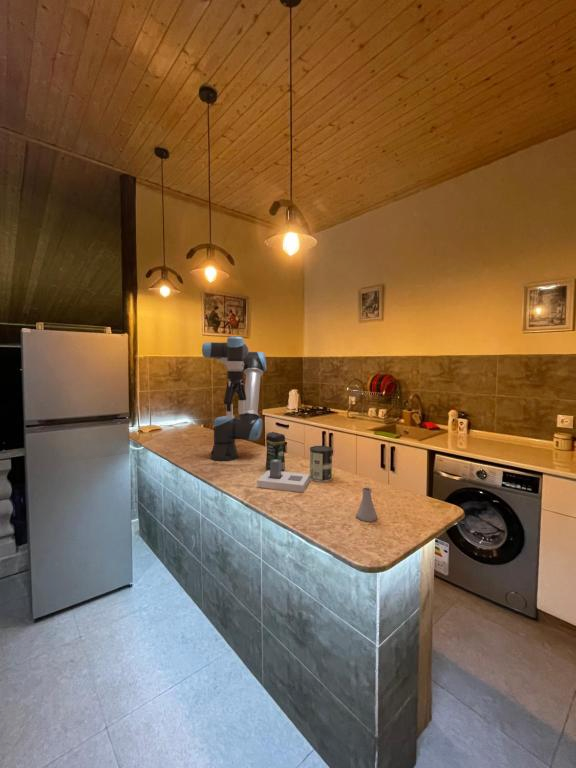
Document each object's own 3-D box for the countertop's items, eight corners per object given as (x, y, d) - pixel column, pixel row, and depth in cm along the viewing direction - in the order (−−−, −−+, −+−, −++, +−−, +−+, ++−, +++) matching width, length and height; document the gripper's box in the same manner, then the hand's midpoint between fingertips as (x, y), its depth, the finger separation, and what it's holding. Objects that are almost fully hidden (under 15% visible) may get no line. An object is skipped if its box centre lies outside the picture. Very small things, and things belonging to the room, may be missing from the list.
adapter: (272, 481, 147) (272, 458, 147) (281, 482, 146) (281, 459, 146) (269, 484, 144) (270, 461, 143) (278, 485, 142) (278, 462, 142)
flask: (361, 510, 118) (362, 483, 117) (380, 516, 113) (381, 488, 113) (351, 518, 112) (352, 489, 112) (371, 524, 108) (372, 494, 107)
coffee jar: (263, 468, 165) (263, 432, 164) (275, 465, 170) (275, 430, 169) (275, 473, 158) (275, 435, 157) (287, 470, 163) (287, 433, 162)
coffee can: (330, 474, 157) (331, 445, 156) (333, 482, 146) (333, 451, 146) (309, 474, 157) (309, 445, 156) (310, 482, 147) (310, 451, 146)
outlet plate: (268, 476, 153) (268, 469, 153) (309, 480, 148) (310, 473, 148) (257, 487, 140) (257, 479, 140) (302, 492, 134) (302, 484, 134)
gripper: (231, 371, 139) (232, 421, 140) (252, 369, 163) (252, 412, 164) (215, 371, 140) (216, 420, 142) (238, 369, 164) (238, 411, 166)
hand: (235, 416), depth 153 cm, fingers open, 13 cm apart
